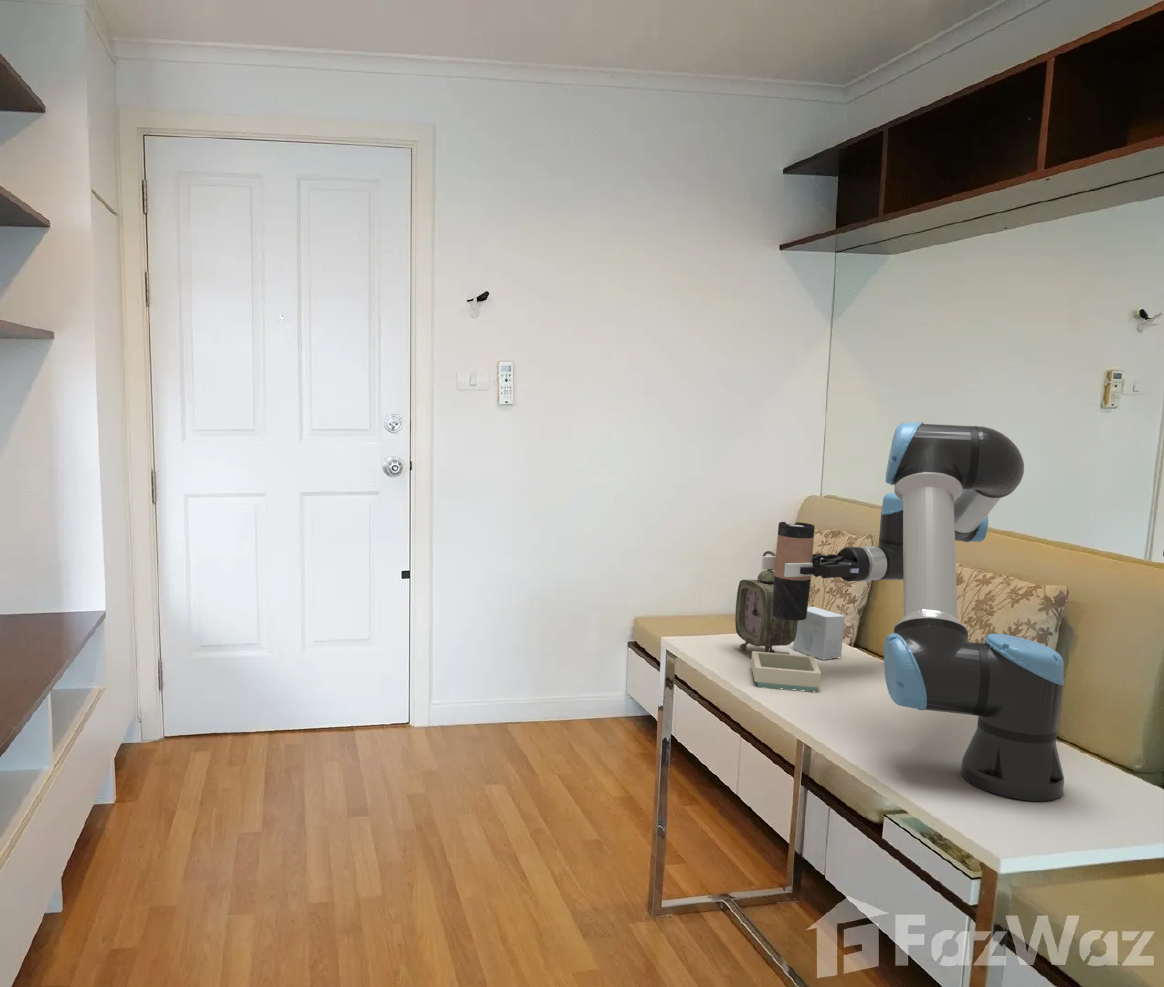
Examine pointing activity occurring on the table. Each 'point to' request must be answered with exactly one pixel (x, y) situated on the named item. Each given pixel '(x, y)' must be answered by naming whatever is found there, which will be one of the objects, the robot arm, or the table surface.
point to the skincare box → (820, 634)
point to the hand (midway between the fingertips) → (774, 566)
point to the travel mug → (792, 590)
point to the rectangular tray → (785, 671)
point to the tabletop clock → (761, 614)
